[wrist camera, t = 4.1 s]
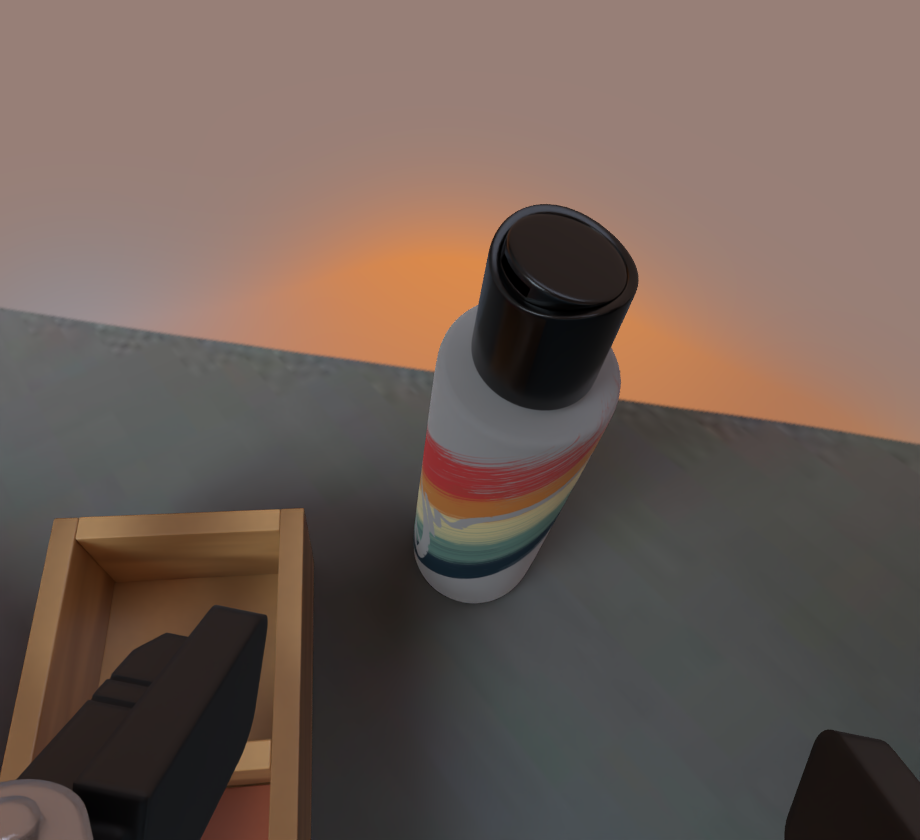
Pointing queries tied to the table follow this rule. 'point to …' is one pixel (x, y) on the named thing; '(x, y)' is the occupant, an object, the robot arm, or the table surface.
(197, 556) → the wooden organizer box
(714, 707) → the table surface
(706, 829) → the table surface
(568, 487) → the lotion bottle
